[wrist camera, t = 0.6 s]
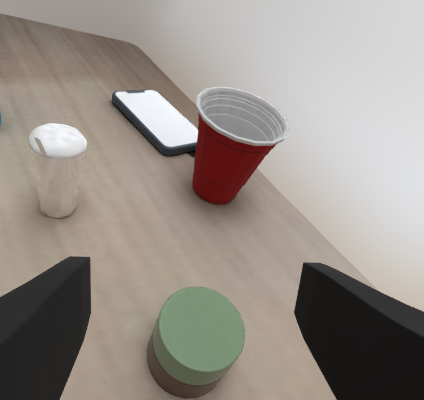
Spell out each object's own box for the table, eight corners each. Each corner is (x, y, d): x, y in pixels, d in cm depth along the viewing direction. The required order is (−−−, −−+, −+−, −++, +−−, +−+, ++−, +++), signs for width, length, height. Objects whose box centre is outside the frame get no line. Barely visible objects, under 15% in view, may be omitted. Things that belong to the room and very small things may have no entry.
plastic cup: (161, 201, 39) (186, 110, 32) (184, 156, 48) (207, 76, 40) (247, 232, 40) (291, 150, 32) (254, 182, 48) (290, 107, 41)
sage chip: (242, 382, 24) (255, 368, 22) (154, 389, 22) (161, 375, 20) (225, 302, 28) (234, 287, 27) (150, 302, 26) (156, 285, 25)
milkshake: (17, 218, 31) (7, 127, 25) (49, 186, 36) (48, 102, 29) (63, 235, 32) (64, 148, 25) (89, 201, 36) (97, 120, 30)
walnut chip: (231, 394, 25) (242, 382, 24) (148, 402, 23) (154, 389, 22) (216, 317, 30) (225, 302, 28) (145, 317, 28) (150, 302, 26)
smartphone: (209, 149, 52) (153, 96, 59) (212, 140, 51) (155, 88, 58) (163, 159, 46) (107, 100, 53) (166, 150, 45) (108, 90, 52)
